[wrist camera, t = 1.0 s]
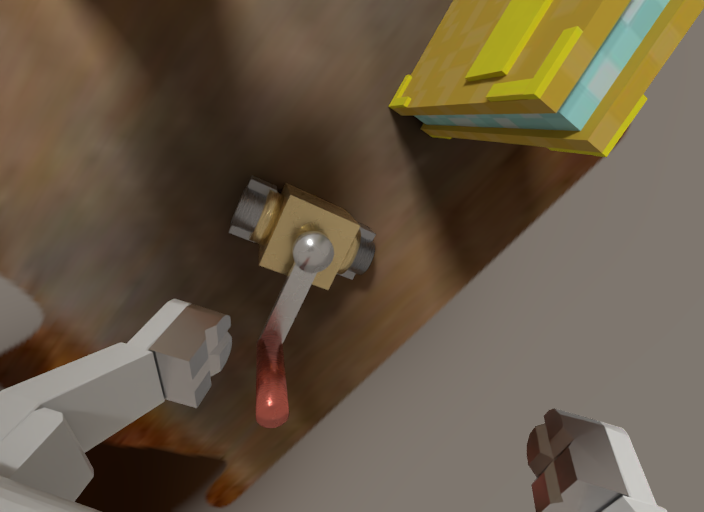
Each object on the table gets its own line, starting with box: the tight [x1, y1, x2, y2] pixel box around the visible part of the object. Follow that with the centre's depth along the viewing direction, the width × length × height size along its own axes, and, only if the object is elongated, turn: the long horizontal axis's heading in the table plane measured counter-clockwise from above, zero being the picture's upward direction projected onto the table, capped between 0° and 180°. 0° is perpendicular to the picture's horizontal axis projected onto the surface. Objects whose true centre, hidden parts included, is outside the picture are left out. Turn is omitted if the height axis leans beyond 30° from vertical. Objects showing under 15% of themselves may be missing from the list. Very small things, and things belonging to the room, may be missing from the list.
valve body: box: [229, 175, 376, 290], centre depth 42 cm, size 16×8×9 cm, turn 63°
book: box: [388, 0, 704, 157], centre depth 31 cm, size 17×7×25 cm, turn 149°
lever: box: [256, 231, 334, 428], centre depth 33 cm, size 14×4×11 cm, turn 153°
